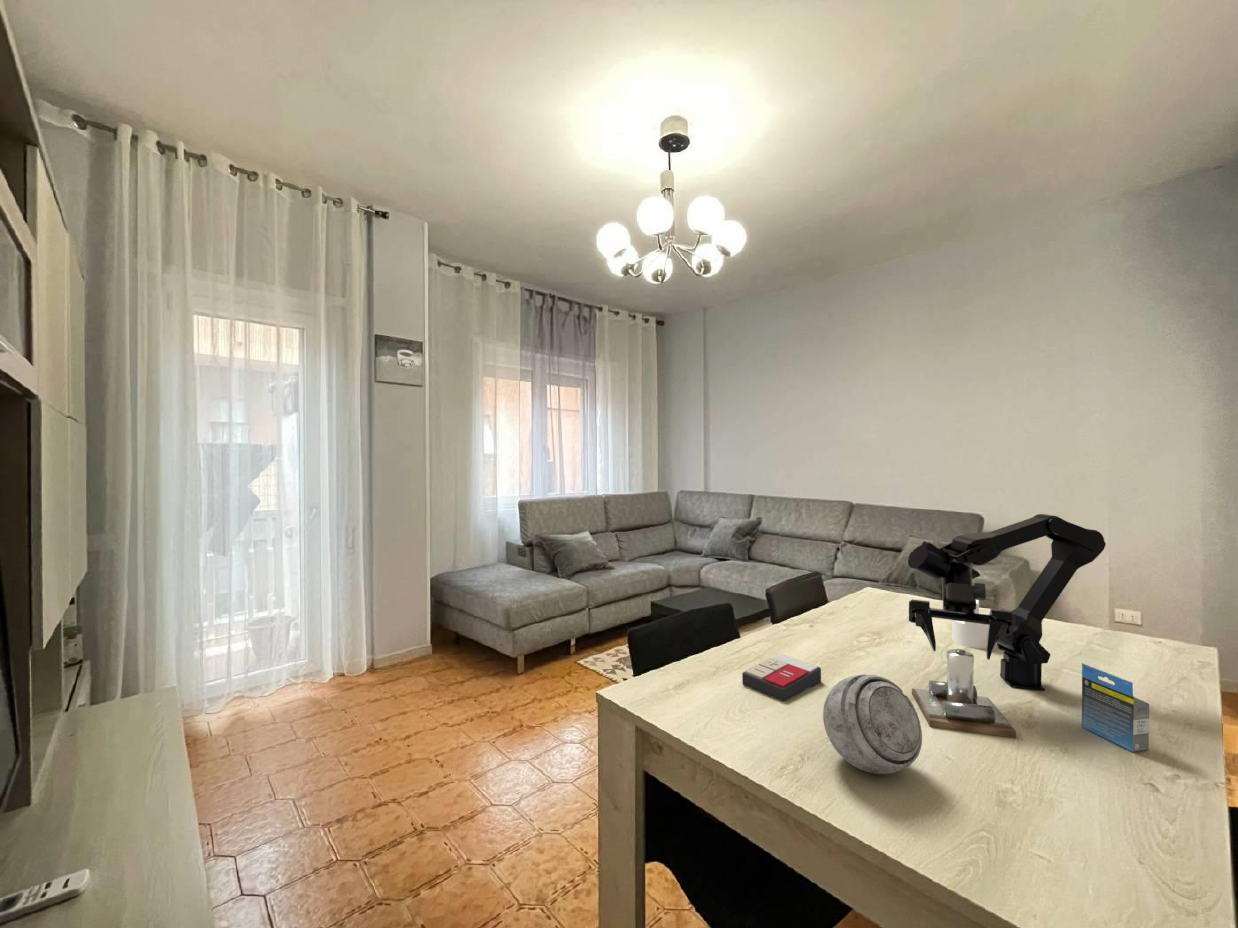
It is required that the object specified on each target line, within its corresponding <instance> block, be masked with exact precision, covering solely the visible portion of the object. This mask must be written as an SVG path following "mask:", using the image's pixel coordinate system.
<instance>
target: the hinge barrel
mask: <svg viewBox="0 0 1238 928" xmlns="http://www.w3.org/2000/svg"><path fill="white" fill-rule="evenodd" d="M946 651H947V652H946V653H947V655H946V682H947V701H951V702H959V703H968V704H973V685H974V663H975V662H974V660H975V659H974V658H975V657H974V656H975V655H974V654H973V653H971V652H969V651H966V650H964V649H961V648H955V649H954V648H953V649H948V650H946Z"/></svg>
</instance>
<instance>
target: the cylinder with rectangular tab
mask: <svg viewBox="0 0 1238 928" xmlns="http://www.w3.org/2000/svg"><path fill="white" fill-rule="evenodd" d="M975 613H976V614H980V600H976V610H975ZM951 621H952V623H951V626H952V628H951V641H952V642H953V643H955V642H956V644H957V645H959V644H960V646H962V647H967V648H971V649H982V650H983V649H985V650H987V634H988V629H989V627H988V625H986V624H979V623H971V622H963V621H956V620H951Z"/></svg>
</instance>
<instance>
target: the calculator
mask: <svg viewBox="0 0 1238 928" xmlns="http://www.w3.org/2000/svg"><path fill="white" fill-rule="evenodd" d="M741 675H742V681H741V682H742V685H743V686H746V687H748V688H750V689H753V690H756V691H758V692H761V693H762V694H765V695H767V696H770V697H772V698H775V699H777V700H780V701H782V702H786V701H788V700H790V699H793V698H794V697H795V696H798V695H799V694H801V693H803V692H804V691H806V690H808V689H810V688H812V687H815V686H817V685H819V684H821V683H822V668H821V667H820V666H818V665H815V664H812V663H810V662H808V661H804V660H801V659H798V658H795V657H793V656H789V655H786V654H783V653H779V654H776V655H774V656H772V657H769V658H766V659H765V660H763V661H761V662H759V663H758V664H755V665H753V666H751V667H749V668H747V669H745V670H744V671H743V672H742V674H741Z"/></svg>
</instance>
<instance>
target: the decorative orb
mask: <svg viewBox="0 0 1238 928" xmlns="http://www.w3.org/2000/svg"><path fill="white" fill-rule="evenodd" d="M822 719H823V721H822V722H823V727H824V730H825V733H826V736H827V738H828V740H829V741H830V744H831V745H832V746H833V747H832V748H833V749H834V750H835V751H836V752H837V753H838V755H840V757H842V758H843V760H845V761H846V762H847V763H848V764H850V765H852V766H853V767H855V768H857V769H859V770H861V771H864V772H867V773H870V774H876V775H889V774H894V773H897V772H900V771H902V770H905V769H907V768H909V767H910V766H911V765H912V764H914V762H915V761H916V760H917V758H918V757H919V755H920V753H921V749H922V745H923V730H922V725H921V721H920V718H919V715H918V712H917V711H916V708H915V707H914V704H913V703H912V701H911V699H910V697H908V695H906V694H904V691H903V689H902V688H901V687H899V685H897V684H896V683H894V682H893V681H891V680H890V679H887V678H885V677H882V676H881V675H876V674H856V675H851V676H848V677H845V678H843V679H841V680H839V682H837V683H836V684H835V685H834V686H833V687H832V688H831V689H830V691H829V692H828V694H827V696H826V698H825V701H824V704H823V710H822Z"/></svg>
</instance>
